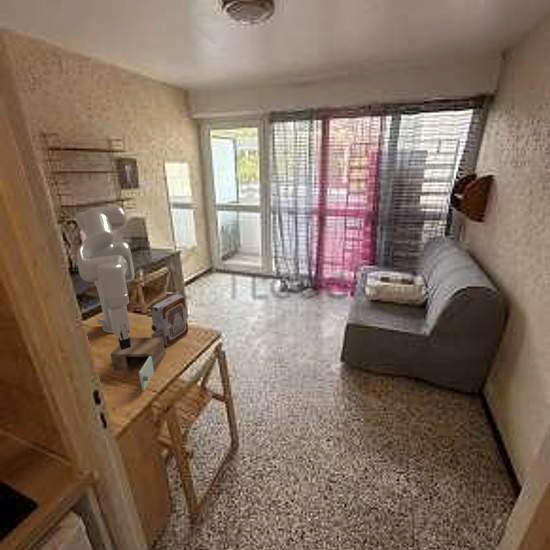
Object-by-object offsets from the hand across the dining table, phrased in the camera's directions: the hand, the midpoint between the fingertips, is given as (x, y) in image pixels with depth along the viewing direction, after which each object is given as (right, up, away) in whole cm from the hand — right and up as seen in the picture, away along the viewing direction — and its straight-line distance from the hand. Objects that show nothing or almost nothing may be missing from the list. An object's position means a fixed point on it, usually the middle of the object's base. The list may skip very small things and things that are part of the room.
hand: (125, 347), depth 113 cm
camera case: (-3, -10, +19) cm, 22 cm away
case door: (+5, -14, +8) cm, 17 cm away
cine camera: (+4, -5, +34) cm, 35 cm away
